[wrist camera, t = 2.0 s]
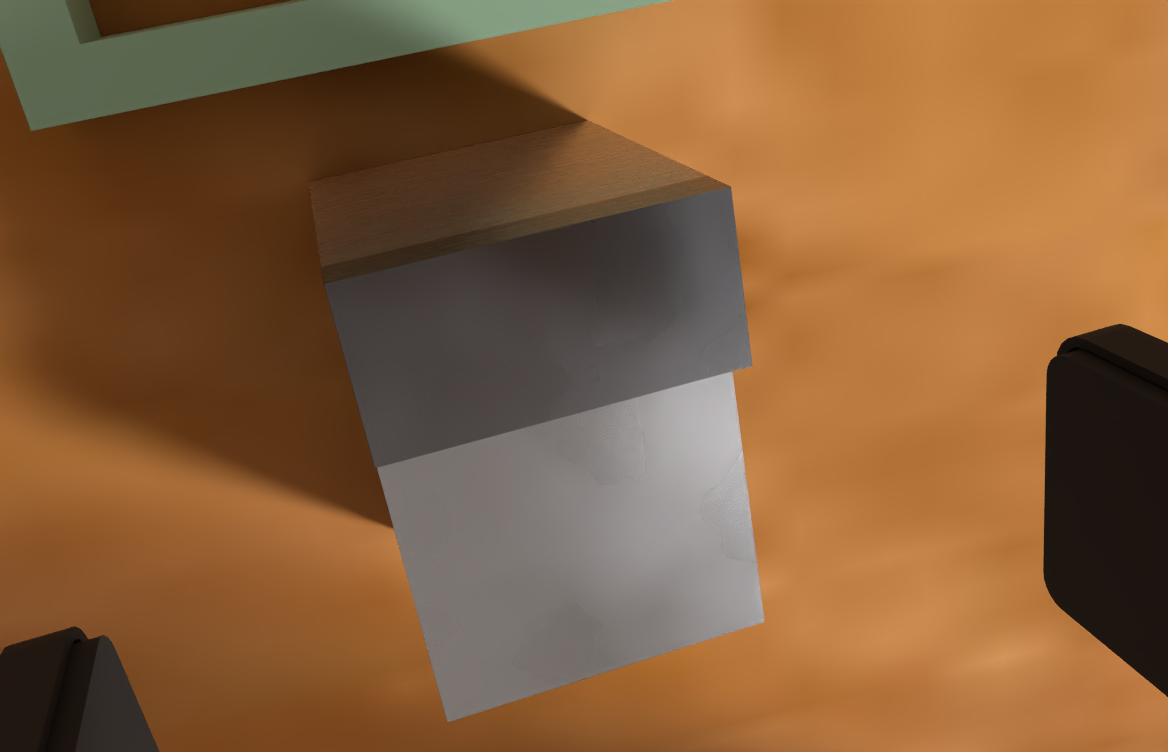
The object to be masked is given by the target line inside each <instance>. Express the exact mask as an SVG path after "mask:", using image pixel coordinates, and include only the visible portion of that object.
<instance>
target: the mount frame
mask: <svg viewBox="0 0 1168 752" xmlns="http://www.w3.org/2000/svg"><path fill="white" fill-rule="evenodd" d="M667 1H672V0H291V1H286V2H281V3H275V4H270V5H265V6H260V7H254V8H249V9H244V10H239V11H234V12H228V13H223V14H218V15H213V16H207V17H202V18H197V19H192V20H186V21H181V22H176V23H171V24H166V25H160V26H155V27H150V28H145V29H139V30H134V31H129V32H124V33H118V34H113V35H108V36H103V37H101V35H100V32H99V29H98V26H97V23H96V20H95V17H94V14H93V11H92V8H91V5H90V2H89V0H0V48H1V50H2V53H3V56H4V58H5V61H6V64H7V67H8V69H9V72H10V75H11V78H12V80H13V83H14V86H15V88H16V91H17V94H18V97H19V99H20V102H21V105H22V107H23V110H24V113H25V116H26V118H27V121H28V124H29V127H30V129H31V131H34V130H39V129H44V128H49V127H54V126H58V125H63V124H68V123H73V122H78V121H83V120H88V119H93V118H98V117H103V116H108V115H112V114H117V113H122V112H127V111H132V110H137V109H142V108H147V107H152V106H157V105H161V104H166V103H171V102H176V101H181V100H186V99H191V98H196V97H201V96H206V95H211V94H215V93H220V92H225V91H230V90H235V89H240V88H245V87H250V86H255V85H260V84H265V83H269V82H274V81H279V80H284V79H289V78H294V77H299V76H304V75H309V74H314V73H318V72H323V71H328V70H333V69H338V68H343V67H348V66H353V65H358V64H363V63H368V62H372V61H377V60H382V59H387V58H392V57H397V56H402V55H407V54H412V53H417V52H422V51H426V50H431V49H436V48H441V47H446V46H451V45H456V44H461V43H466V42H471V41H475V40H480V39H485V38H490V37H495V36H500V35H505V34H510V33H515V32H520V31H525V30H529V29H534V28H539V27H544V26H549V25H554V24H559V23H564V22H569V21H574V20H579V19H583V18H588V17H593V16H598V15H603V14H608V13H613V12H618V11H623V10H628V9H632V8H637V7H642V6H647V5H652V4H657V3H662V2H667Z"/></svg>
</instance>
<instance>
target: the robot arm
mask: <svg viewBox="0 0 1168 752" xmlns="http://www.w3.org/2000/svg"><path fill="white" fill-rule="evenodd" d="M1043 571H1044V580H1045V583H1046V587H1047V589H1048V591H1049V593H1050V595H1051V597H1052V598H1053V600H1054V601H1055V603H1056V604H1057V605H1058V606H1059V607H1060V608H1061V609H1062V610H1063V611H1064V612H1066V613H1067V614H1068V615H1069V616H1070V617H1072V618H1073V619H1074V620H1075V621H1076V622H1078V623H1079V624H1080V625H1081V626H1083V627H1084V628H1085V629H1086V630H1087V631H1089V632H1090V633H1091V634H1092V635H1093V636H1095V637H1096V638H1097V639H1098V640H1100V641H1101V642H1102V643H1103V644H1104V645H1106V646H1107V647H1108V648H1109V649H1110V650H1112V651H1113V652H1114V653H1115V654H1116V655H1118V656H1119V657H1120V658H1121V659H1123V660H1124V661H1125V662H1126V663H1127V664H1129V665H1130V666H1131V667H1132V668H1133V669H1135V670H1136V671H1137V672H1138V673H1139V674H1141V675H1142V676H1143V677H1144V678H1146V679H1147V680H1148V681H1149V682H1150V683H1152V684H1153V685H1154V686H1155V687H1156V688H1158V689H1159V690H1160V691H1161V692H1162V693H1164V694H1165V695H1166V696H1167V697H1168V343H1167V342H1165V341H1162V340H1160V339H1158V338H1155V337H1153V336H1151V335H1149V334H1146V333H1144V332H1142V331H1140V330H1137V329H1135V328H1133V327H1130V326H1127V325H1123V324H1118V325H1113V326H1109V327H1106V328H1102V329H1099V330H1095V331H1092V332H1088V333H1085V334H1081V335H1078V336H1074V337H1071V338H1068V339H1067V340H1065V341H1064V342H1063V343H1062V344H1061V346H1060V348H1059V350H1058V352H1057V356H1056V357H1054V358H1053V359H1052V360H1051V361H1050V363H1049V365H1048V369H1047V386H1046V447H1045V509H1044V570H1043ZM0 752H159V750H158V748H157V746H156V743H155V741H154V739H153V736H152V734H151V732H150V729H149V727H148V725H147V722H146V720H145V718H144V715H143V713H142V711H141V708H140V706H139V704H138V701H137V699H136V697H135V694H134V692H133V690H132V687H131V685H130V683H129V680H128V678H127V676H126V673H125V671H124V669H123V666H122V664H121V662H120V659H119V657H118V654H117V652H116V650H115V648H114V646H113V644H112V642H111V641H110V640H109V638H108V637H106V636H104V635H103V636H100V637H96V638H93V639H90V640H88V639H87V637H86V635H85V634H84V633H83V632H82V630H81V629H79V628H77V627H71V628H68V629H64V630H61V631H58V632H54V633H51V634H47V635H44V636H40V637H37V638H33V639H30V640H26V641H23V642H20V643H16V644H13V645H10V646H7V647H5V648H4V650H3V651H2V653H1V655H0Z"/></svg>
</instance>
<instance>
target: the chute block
mask: <svg viewBox="0 0 1168 752" xmlns="http://www.w3.org/2000/svg"><path fill="white" fill-rule="evenodd" d="M308 185H309V191H310V198H311V204H312V211H313V217H314V224H315V230H316V236H317V243H318V249H319V256H320V262H321V269H322V275H323V281H324V286H325V290H326V293H327V297H328V301H329V304H330V308H331V311H332V315H333V318H334V322H335V326H336V329H337V333H338V336H339V340H340V344H341V347H342V351H343V354H344V358H345V362H346V365H347V369H348V372H349V376H350V380H351V383H352V387H353V390H354V394H355V398H356V401H357V405H358V408H359V412H360V416H361V419H362V423H363V426H364V430H365V434H366V437H367V441H368V444H369V448H370V451H371V455H372V459H373V462H374V466H375V468H377V470H378V473H379V477H380V480H381V484H382V488H383V491H384V495H385V499H386V502H387V506H388V509H389V513H390V517H391V520H392V524H393V527H394V531H395V535H396V538H397V542H398V545H399V549H400V553H401V556H402V560H403V563H404V567H405V571H406V574H407V578H408V581H409V585H410V589H411V592H412V596H413V599H414V603H415V607H416V610H417V614H418V617H419V621H420V625H421V628H422V632H423V635H424V639H425V643H426V646H427V650H428V654H429V657H430V661H431V664H432V668H433V672H434V675H435V679H436V682H437V686H438V690H439V693H440V697H441V700H442V704H443V708H444V711H445V715H446V718H447V722H451V721H454V720H457V719H460V718H463V717H466V716H469V715H473V714H476V713H479V712H482V711H485V710H488V709H491V708H495V707H498V706H501V705H504V704H507V703H510V702H514V701H517V700H520V699H523V698H526V697H529V696H532V695H536V694H539V693H542V692H545V691H548V690H551V689H554V688H558V687H561V686H564V685H567V684H570V683H573V682H576V681H580V680H583V679H586V678H589V677H592V676H595V675H599V674H602V673H605V672H608V671H611V670H614V669H617V668H621V667H624V666H627V665H630V664H633V663H636V662H639V661H643V660H646V659H649V658H652V657H655V656H658V655H662V654H665V653H668V652H671V651H674V650H677V649H680V648H684V647H687V646H690V645H693V644H696V643H699V642H702V641H706V640H709V639H712V638H715V637H718V636H721V635H724V634H728V633H731V632H734V631H737V630H740V629H743V628H747V627H750V626H753V625H756V624H759V623H762V622H764V614H763V606H762V598H761V590H760V583H759V575H758V567H757V559H756V552H755V544H754V536H753V528H752V520H751V513H750V505H749V497H748V489H747V482H746V474H745V466H744V458H743V450H742V443H741V435H740V427H739V419H738V412H737V404H736V396H735V388H734V380H733V373H732V371H735V370H739V369H743V368H746V367H750V366H752V358H751V350H750V342H749V333H748V325H747V317H746V308H745V300H744V292H743V284H742V275H741V267H740V259H739V250H738V242H737V234H736V225H735V217H734V209H733V201H732V192H731V187H730V186H728V185H726V184H724V183H722V182H720V181H717V180H715V179H713V178H711V177H709V176H707V175H704V174H702V173H700V172H698V171H696V170H694V169H692V168H689V167H687V166H685V165H683V164H681V163H679V162H676V161H674V160H672V159H670V158H668V157H666V156H664V155H661V154H659V153H657V152H655V151H653V150H651V149H648V148H646V147H644V146H642V145H640V144H638V143H636V142H633V141H631V140H629V139H627V138H625V137H623V136H620V135H618V134H616V133H614V132H612V131H610V130H608V129H605V128H603V127H601V126H599V125H597V124H595V123H592V122H590V121H588V120H585V121H581V122H576V123H572V124H567V125H563V126H558V127H554V128H549V129H545V130H540V131H536V132H531V133H527V134H522V135H518V136H513V137H509V138H504V139H500V140H495V141H491V142H486V143H482V144H477V145H472V146H468V147H463V148H459V149H454V150H450V151H445V152H441V153H436V154H432V155H427V156H423V157H418V158H414V159H409V160H405V161H400V162H396V163H391V164H387V165H382V166H378V167H373V168H369V169H364V170H360V171H355V172H350V173H346V174H341V175H337V176H332V177H328V178H323V179H319V180H314V181H310V182H308Z"/></svg>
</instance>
